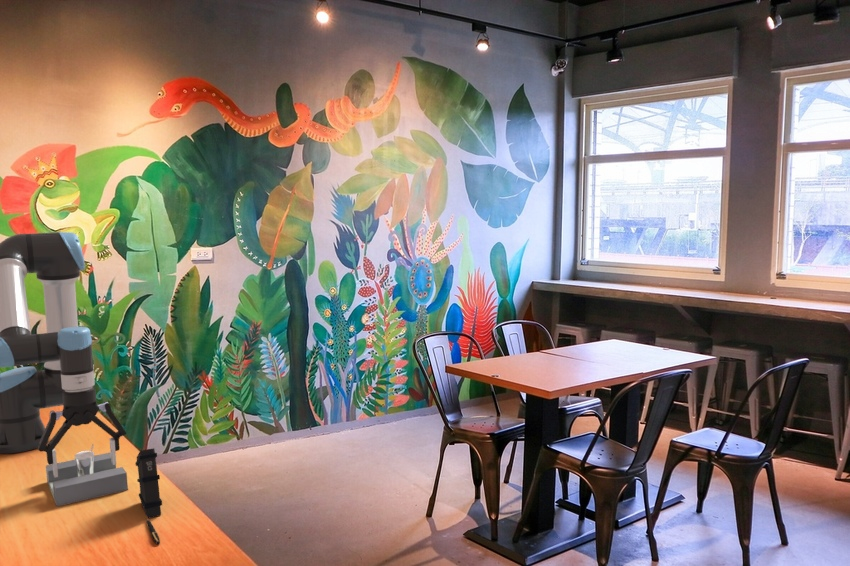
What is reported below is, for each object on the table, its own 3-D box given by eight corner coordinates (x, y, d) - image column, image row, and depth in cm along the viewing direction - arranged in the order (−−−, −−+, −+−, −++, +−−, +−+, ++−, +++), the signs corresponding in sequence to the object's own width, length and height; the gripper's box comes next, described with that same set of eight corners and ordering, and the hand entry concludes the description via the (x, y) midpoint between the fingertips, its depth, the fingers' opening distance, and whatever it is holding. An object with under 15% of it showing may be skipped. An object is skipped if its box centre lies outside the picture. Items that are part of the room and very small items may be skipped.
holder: (47, 482, 183) (45, 465, 182) (112, 467, 192) (111, 452, 191) (57, 506, 167) (55, 488, 167) (127, 489, 176) (126, 472, 176)
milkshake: (103, 482, 182) (100, 444, 181) (87, 490, 177) (83, 451, 176) (89, 480, 183) (86, 443, 182) (73, 488, 178) (69, 450, 177)
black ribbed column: (147, 517, 156) (138, 450, 160) (141, 521, 167) (134, 459, 171) (164, 513, 158) (156, 447, 162) (158, 518, 169) (150, 456, 173)
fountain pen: (144, 522, 158) (143, 515, 158) (149, 520, 159) (149, 514, 159) (156, 547, 146) (155, 540, 146) (161, 546, 146) (161, 539, 146)
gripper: (23, 400, 167) (31, 485, 169) (134, 383, 181) (139, 462, 183) (20, 393, 173) (28, 476, 175) (127, 377, 187) (133, 454, 189)
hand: (85, 469), depth 179 cm, fingers open, 13 cm apart
